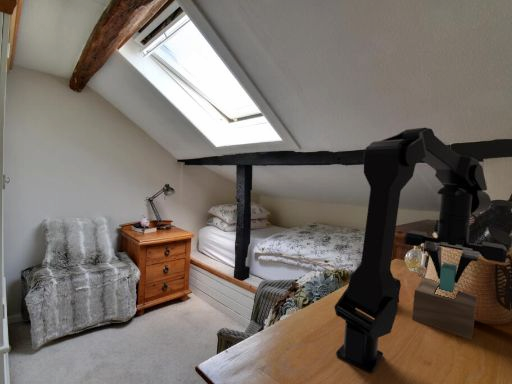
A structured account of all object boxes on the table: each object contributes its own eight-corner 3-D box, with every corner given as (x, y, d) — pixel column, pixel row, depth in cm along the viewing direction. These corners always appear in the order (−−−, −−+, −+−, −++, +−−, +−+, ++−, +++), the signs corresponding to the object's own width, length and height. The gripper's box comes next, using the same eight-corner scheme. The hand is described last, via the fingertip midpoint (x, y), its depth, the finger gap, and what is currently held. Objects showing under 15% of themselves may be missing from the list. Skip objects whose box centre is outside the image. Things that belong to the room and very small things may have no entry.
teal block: (452, 292, 61) (454, 270, 60) (439, 288, 62) (441, 267, 62) (454, 285, 65) (456, 264, 65) (442, 282, 67) (444, 262, 66)
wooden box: (471, 339, 57) (475, 307, 56) (412, 319, 64) (414, 290, 63) (474, 319, 65) (478, 291, 64) (421, 303, 72) (424, 277, 72)
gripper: (508, 217, 62) (500, 283, 63) (416, 207, 75) (411, 262, 76) (510, 222, 54) (501, 298, 55) (405, 210, 66) (400, 272, 67)
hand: (447, 280), depth 64 cm, fingers open, 3 cm apart
